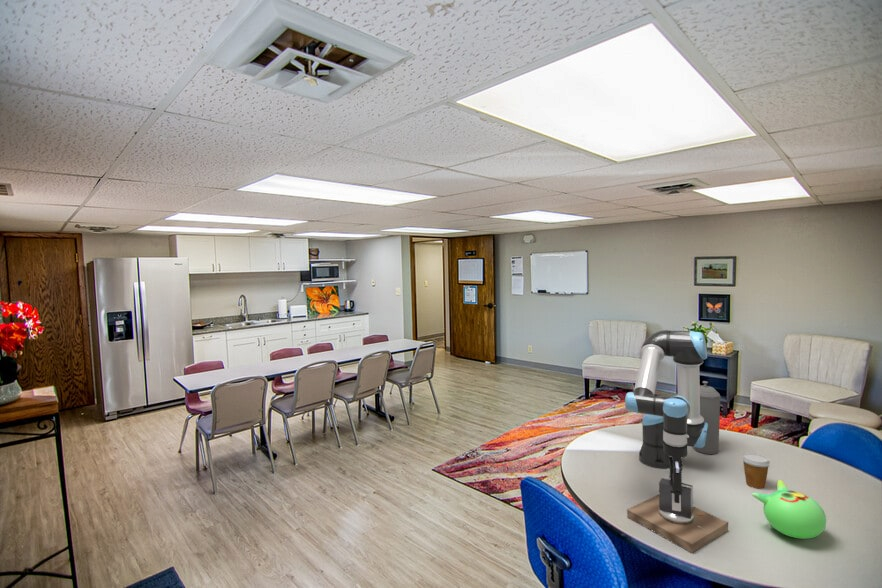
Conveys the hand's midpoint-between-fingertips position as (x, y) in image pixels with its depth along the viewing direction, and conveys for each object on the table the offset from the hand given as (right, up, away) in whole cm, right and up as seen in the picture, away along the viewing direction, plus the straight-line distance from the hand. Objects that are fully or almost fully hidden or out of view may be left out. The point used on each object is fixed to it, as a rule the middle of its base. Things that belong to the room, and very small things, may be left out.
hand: (675, 505), depth 153 cm
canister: (+48, -2, +60) cm, 77 cm away
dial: (0, -4, 0) cm, 4 cm away
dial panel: (0, -7, 0) cm, 7 cm away
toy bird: (+37, -6, -7) cm, 38 cm away
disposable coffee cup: (+47, -4, +25) cm, 54 cm away
